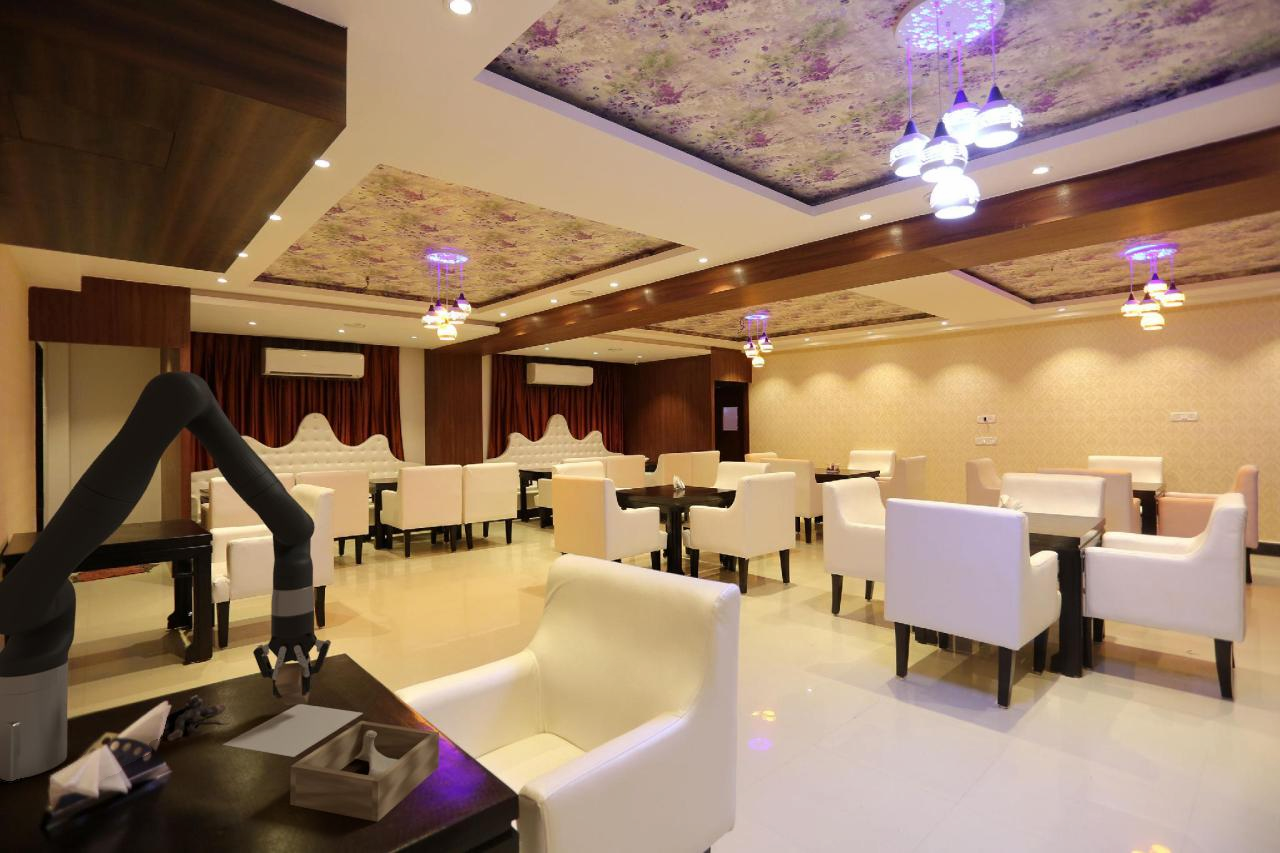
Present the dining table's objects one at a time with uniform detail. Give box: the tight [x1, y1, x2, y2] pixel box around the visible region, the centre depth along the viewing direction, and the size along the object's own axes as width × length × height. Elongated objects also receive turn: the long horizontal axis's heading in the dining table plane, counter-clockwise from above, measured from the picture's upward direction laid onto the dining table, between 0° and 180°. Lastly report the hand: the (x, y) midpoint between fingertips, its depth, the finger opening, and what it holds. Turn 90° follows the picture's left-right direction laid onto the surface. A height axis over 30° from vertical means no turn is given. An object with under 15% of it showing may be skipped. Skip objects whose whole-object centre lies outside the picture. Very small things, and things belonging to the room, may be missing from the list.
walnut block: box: [275, 662, 310, 706], centre depth 126 cm, size 4×4×10 cm
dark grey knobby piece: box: [162, 694, 232, 742], centre depth 124 cm, size 12×10×12 cm
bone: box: [354, 730, 398, 777], centre depth 106 cm, size 10×6×10 cm
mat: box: [222, 704, 364, 758], centre depth 122 cm, size 18×16×1 cm
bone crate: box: [289, 720, 440, 822], centre depth 104 cm, size 16×16×6 cm
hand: (292, 695), depth 125 cm, fingers closed on walnut block, 4 cm apart
